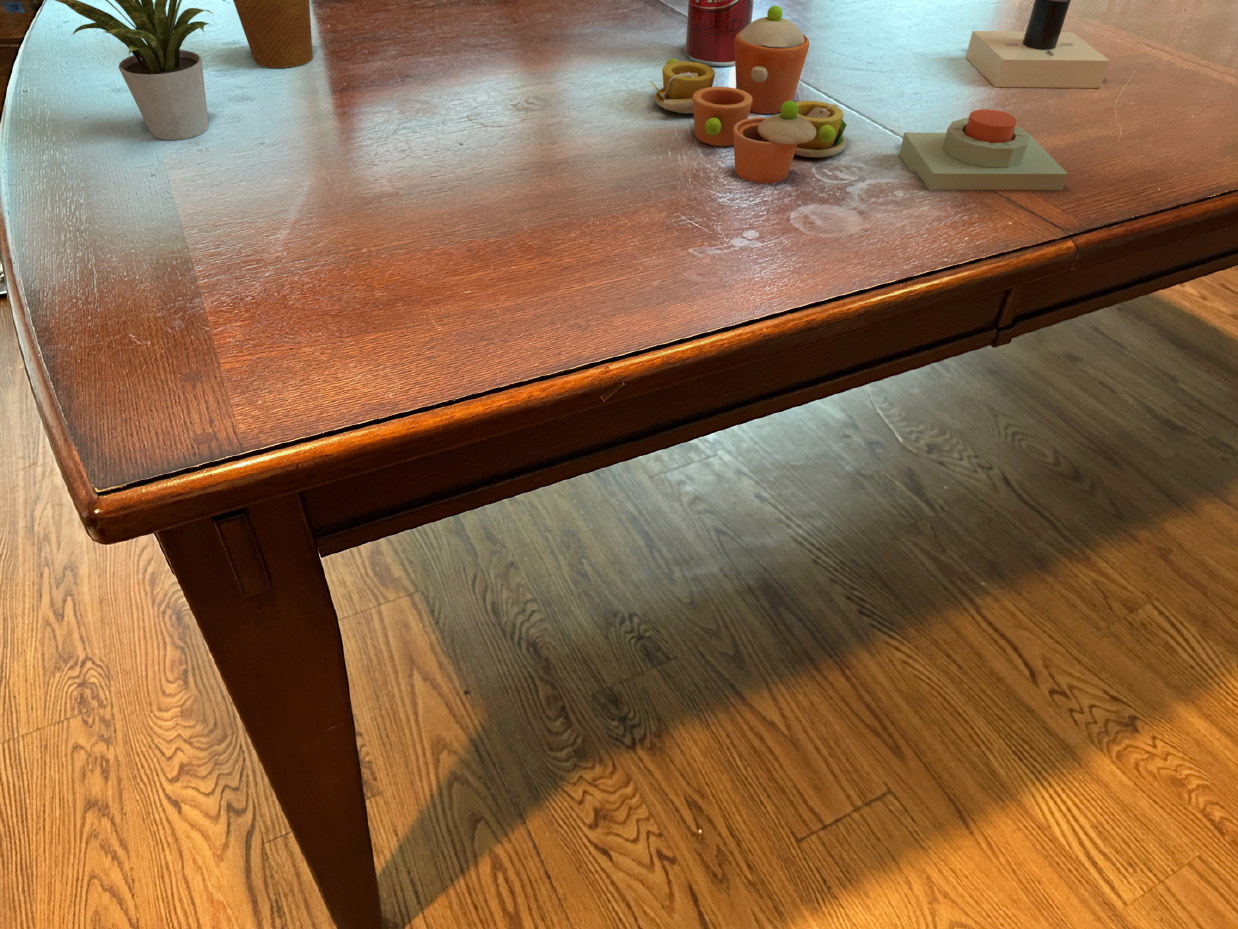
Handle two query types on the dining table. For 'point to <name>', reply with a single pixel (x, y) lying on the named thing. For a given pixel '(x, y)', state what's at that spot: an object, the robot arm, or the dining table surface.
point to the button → (990, 126)
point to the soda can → (715, 29)
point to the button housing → (980, 161)
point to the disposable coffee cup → (277, 31)
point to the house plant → (158, 63)
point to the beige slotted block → (1036, 61)
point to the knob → (1045, 23)
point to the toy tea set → (757, 102)
